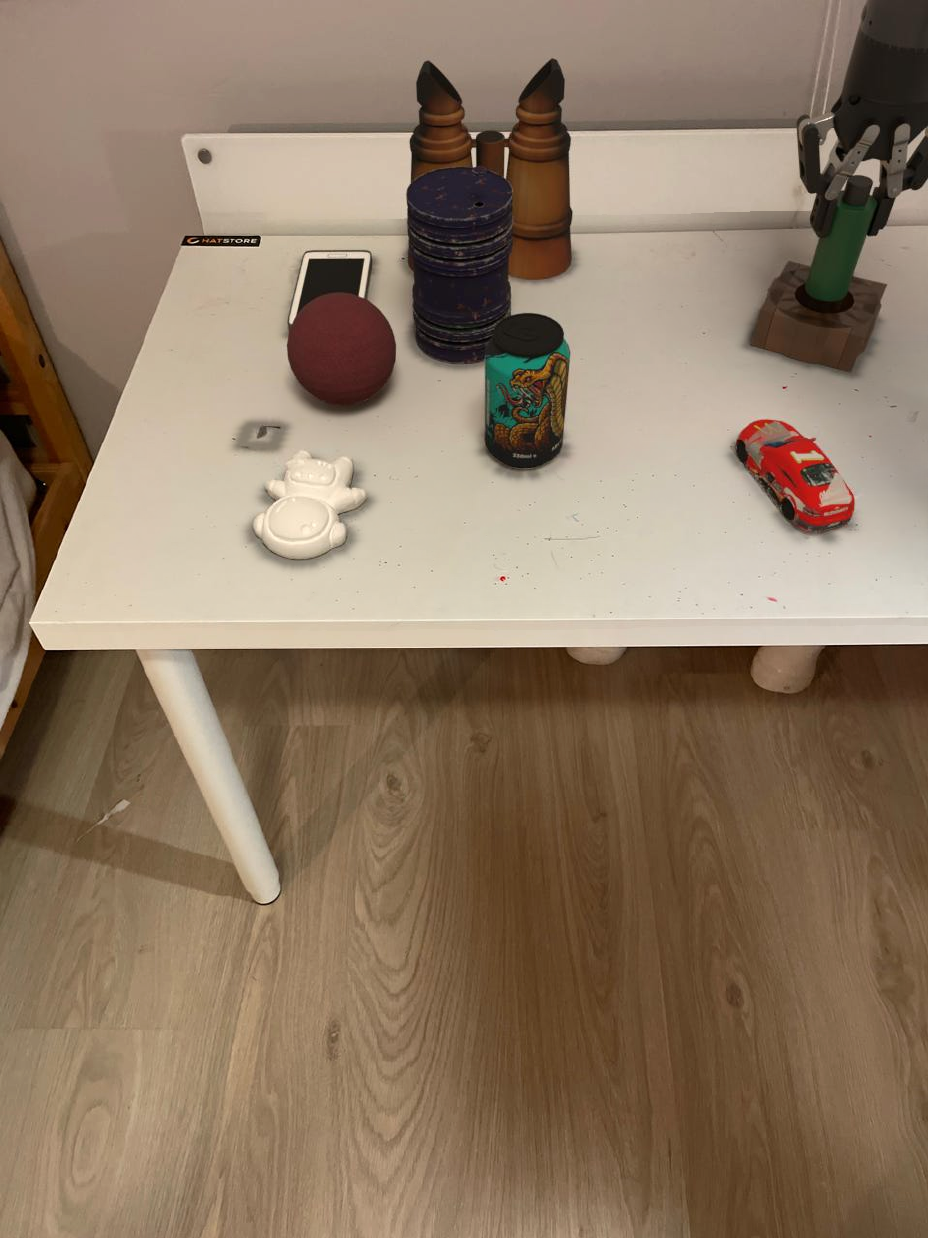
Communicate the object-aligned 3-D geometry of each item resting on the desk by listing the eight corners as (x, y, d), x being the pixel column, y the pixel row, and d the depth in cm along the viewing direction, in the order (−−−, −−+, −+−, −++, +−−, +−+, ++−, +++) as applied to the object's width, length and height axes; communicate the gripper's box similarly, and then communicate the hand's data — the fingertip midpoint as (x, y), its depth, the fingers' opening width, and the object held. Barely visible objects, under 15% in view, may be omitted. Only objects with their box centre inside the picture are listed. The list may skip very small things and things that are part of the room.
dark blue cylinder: (395, 330, 96) (380, 153, 82) (470, 296, 100) (468, 121, 86) (453, 377, 91) (447, 197, 77) (530, 339, 95) (538, 161, 81)
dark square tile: (274, 449, 85) (271, 440, 84) (243, 448, 86) (240, 438, 85) (281, 426, 87) (278, 417, 86) (250, 425, 87) (247, 416, 86)
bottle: (851, 284, 91) (888, 175, 83) (841, 305, 89) (878, 195, 81) (810, 274, 93) (843, 165, 84) (799, 295, 90) (832, 185, 82)
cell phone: (373, 257, 105) (372, 249, 104) (362, 334, 95) (361, 325, 95) (305, 257, 105) (303, 249, 104) (287, 334, 96) (285, 325, 95)
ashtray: (878, 318, 96) (891, 283, 93) (853, 375, 90) (866, 339, 87) (776, 292, 99) (785, 257, 96) (746, 346, 93) (755, 310, 90)
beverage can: (538, 483, 81) (546, 369, 72) (470, 456, 84) (468, 342, 74) (575, 437, 85) (587, 323, 76) (509, 413, 87) (512, 299, 78)
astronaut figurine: (381, 471, 83) (378, 445, 80) (332, 569, 76) (327, 543, 73) (290, 454, 84) (285, 428, 82) (234, 548, 77) (226, 522, 75)
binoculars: (406, 280, 102) (391, 84, 86) (409, 241, 107) (396, 49, 91) (574, 278, 101) (590, 81, 86) (569, 239, 107) (583, 46, 91)
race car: (724, 443, 84) (733, 407, 81) (778, 430, 85) (788, 394, 82) (798, 543, 76) (811, 508, 73) (857, 528, 77) (872, 493, 74)
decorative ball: (280, 382, 91) (261, 290, 83) (372, 351, 94) (362, 259, 86) (321, 440, 85) (305, 348, 78) (418, 405, 88) (411, 312, 81)
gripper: (833, 46, 70) (778, 257, 84) (1020, 40, 71) (934, 251, 84) (807, 10, 75) (758, 214, 89) (982, 4, 75) (906, 209, 89)
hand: (844, 231), depth 86 cm, fingers closed on bottle, 4 cm apart
